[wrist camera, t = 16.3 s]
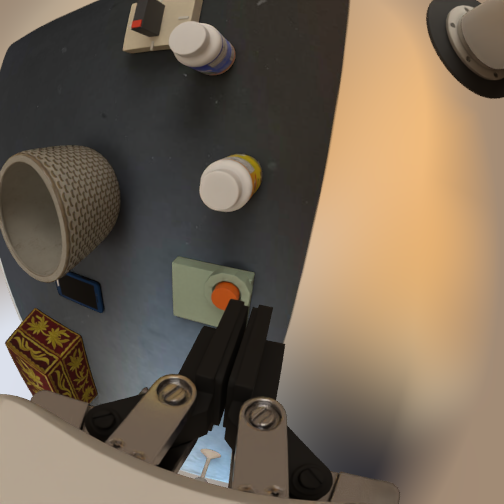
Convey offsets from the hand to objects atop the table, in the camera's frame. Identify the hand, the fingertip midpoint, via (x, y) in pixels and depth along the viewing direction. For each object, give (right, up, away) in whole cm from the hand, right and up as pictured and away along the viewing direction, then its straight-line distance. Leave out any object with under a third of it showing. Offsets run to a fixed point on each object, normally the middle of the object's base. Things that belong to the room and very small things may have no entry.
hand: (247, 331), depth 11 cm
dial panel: (-12, +34, +17) cm, 40 cm away
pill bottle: (-4, +28, +19) cm, 34 cm away
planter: (-25, +14, +30) cm, 41 cm away
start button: (-3, -2, +28) cm, 29 cm away
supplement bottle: (-1, +13, +25) cm, 28 cm away
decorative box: (-53, -26, +54) cm, 81 cm away
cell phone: (-36, -4, +40) cm, 54 cm away
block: (-6, -3, +33) cm, 34 cm away
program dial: (-12, +33, +15) cm, 38 cm away
